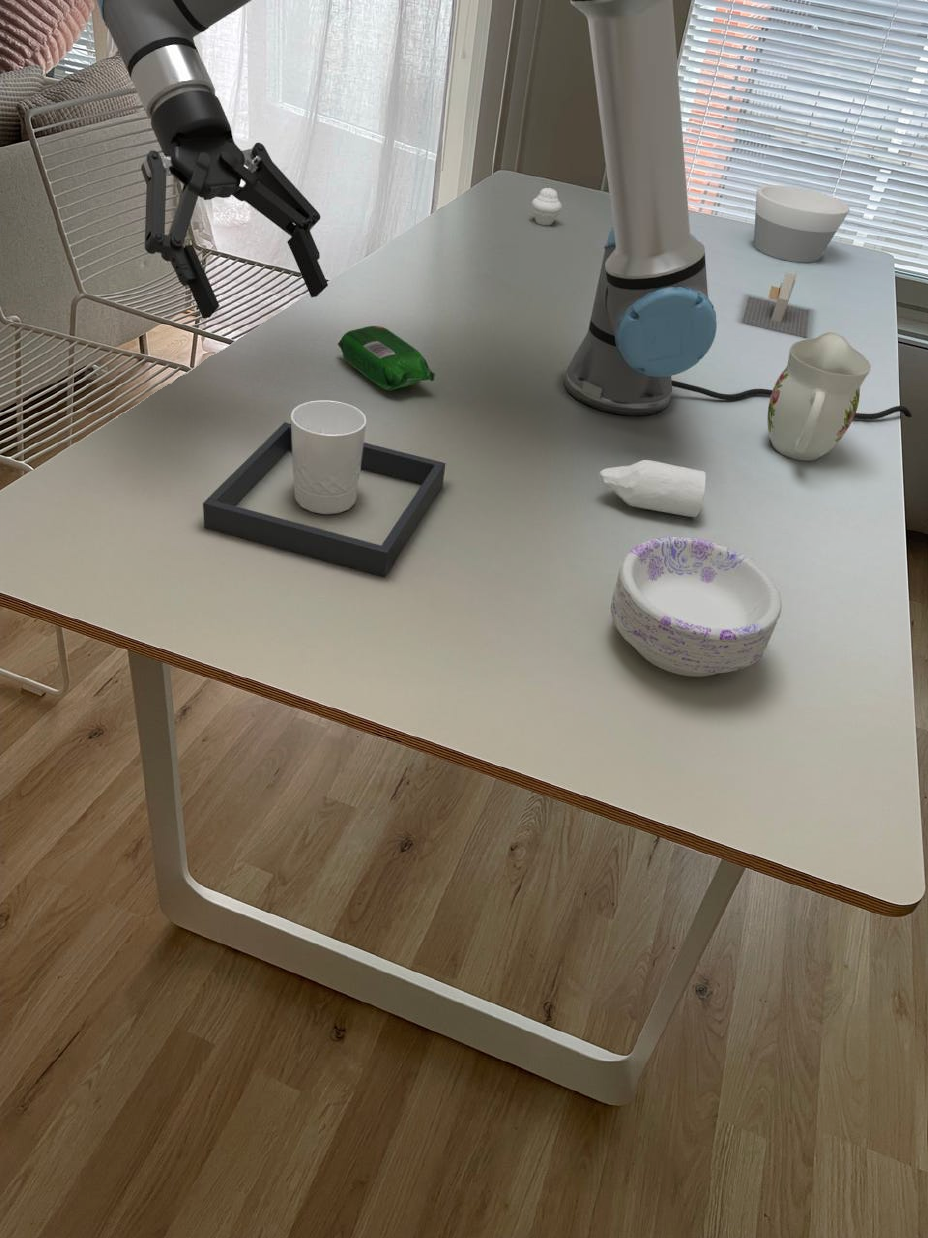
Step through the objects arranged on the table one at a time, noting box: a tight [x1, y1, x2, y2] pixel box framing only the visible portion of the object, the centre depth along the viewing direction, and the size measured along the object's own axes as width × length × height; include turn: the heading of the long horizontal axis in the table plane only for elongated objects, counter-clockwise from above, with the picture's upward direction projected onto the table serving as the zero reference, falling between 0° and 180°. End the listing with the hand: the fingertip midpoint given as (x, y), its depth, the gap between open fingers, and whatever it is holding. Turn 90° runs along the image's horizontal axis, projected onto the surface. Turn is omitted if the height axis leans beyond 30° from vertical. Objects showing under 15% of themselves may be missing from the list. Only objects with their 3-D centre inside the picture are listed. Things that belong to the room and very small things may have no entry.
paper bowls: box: [610, 536, 783, 678], centre depth 92 cm, size 15×15×8 cm
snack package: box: [337, 325, 436, 392], centre depth 132 cm, size 7×16×5 cm, turn 35°
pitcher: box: [767, 332, 872, 461], centre depth 127 cm, size 11×18×14 cm, turn 160°
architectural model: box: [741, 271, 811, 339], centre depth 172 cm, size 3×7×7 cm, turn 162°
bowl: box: [753, 184, 851, 264], centre depth 203 cm, size 19×19×11 cm
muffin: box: [531, 187, 562, 226], centre depth 199 cm, size 6×6×7 cm
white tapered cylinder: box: [599, 459, 707, 518], centre depth 114 cm, size 6×12×6 cm, turn 83°
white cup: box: [290, 399, 367, 515], centre depth 105 cm, size 8×8×10 cm
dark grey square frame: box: [202, 421, 446, 578], centre depth 106 cm, size 20×20×3 cm
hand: (267, 301), depth 102 cm, fingers open, 13 cm apart
